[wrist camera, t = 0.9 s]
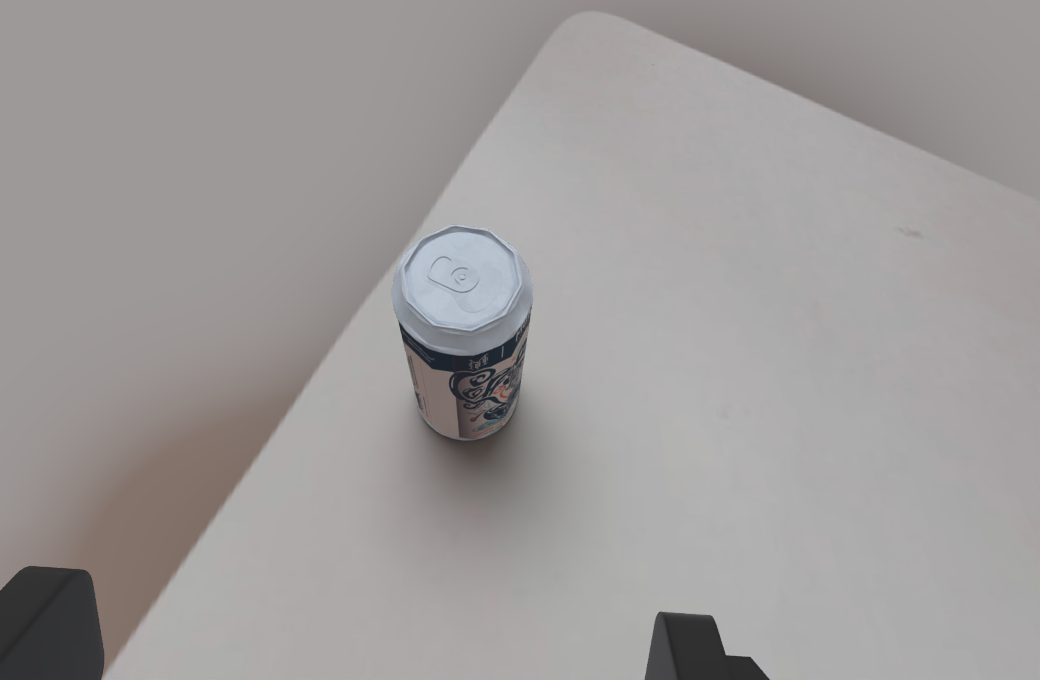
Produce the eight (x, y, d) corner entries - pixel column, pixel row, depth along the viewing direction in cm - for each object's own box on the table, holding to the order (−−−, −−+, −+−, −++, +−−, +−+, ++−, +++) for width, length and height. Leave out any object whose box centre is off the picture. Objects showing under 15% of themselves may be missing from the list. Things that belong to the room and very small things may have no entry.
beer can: (489, 461, 35) (494, 368, 24) (397, 416, 36) (360, 304, 25) (534, 372, 37) (558, 248, 26) (446, 331, 38) (432, 192, 27)
